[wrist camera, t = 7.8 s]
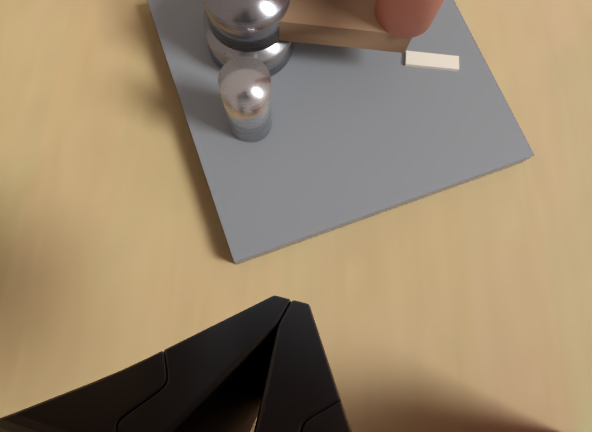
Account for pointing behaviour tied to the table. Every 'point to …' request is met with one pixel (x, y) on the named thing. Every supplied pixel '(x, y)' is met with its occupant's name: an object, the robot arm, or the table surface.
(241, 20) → the crank
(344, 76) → the crank base
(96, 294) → the table surface
